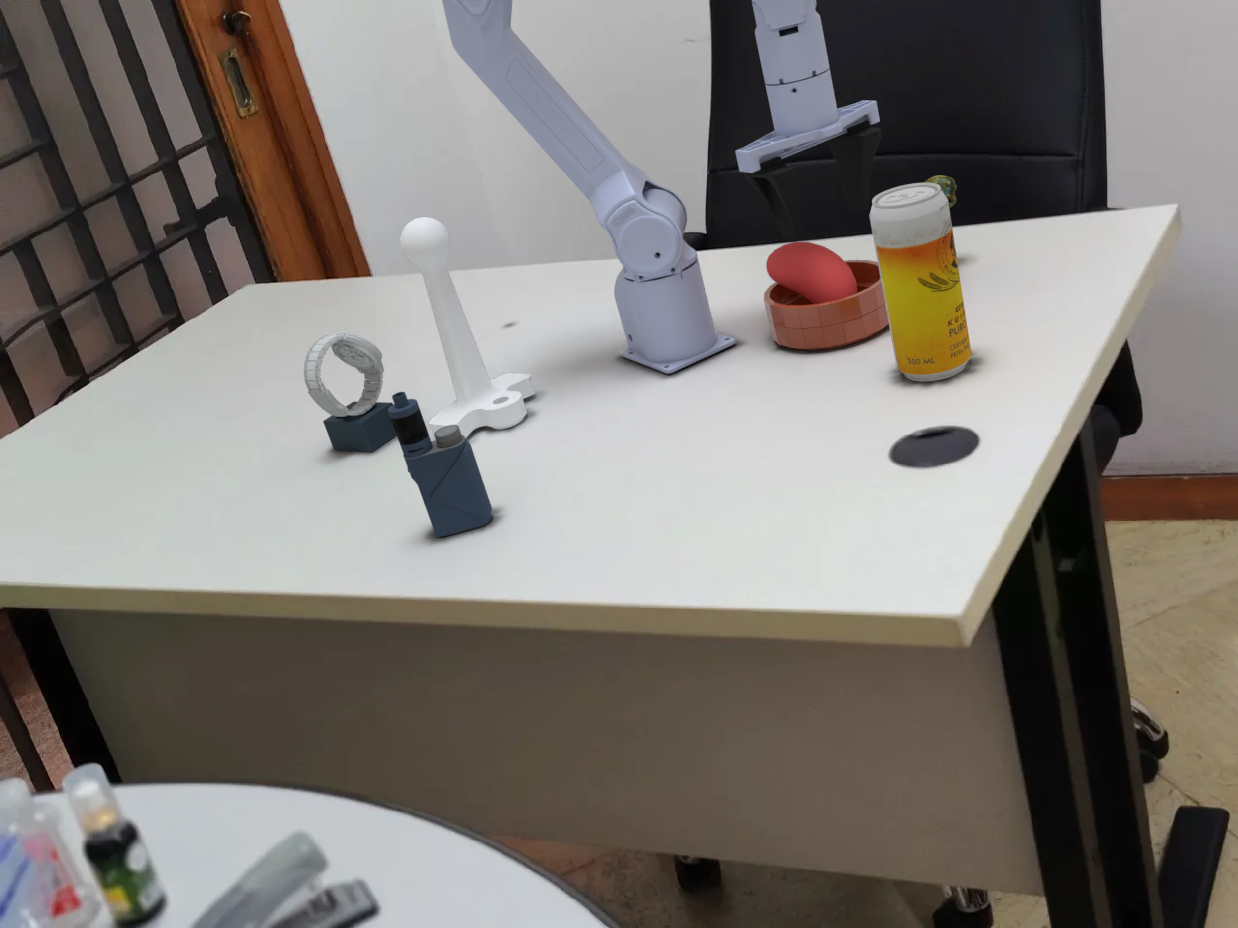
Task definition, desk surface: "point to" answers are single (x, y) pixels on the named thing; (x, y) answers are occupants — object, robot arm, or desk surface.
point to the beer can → (920, 281)
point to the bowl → (828, 313)
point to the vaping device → (441, 470)
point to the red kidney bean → (811, 272)
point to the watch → (359, 420)
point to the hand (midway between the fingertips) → (826, 224)
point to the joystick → (461, 342)
